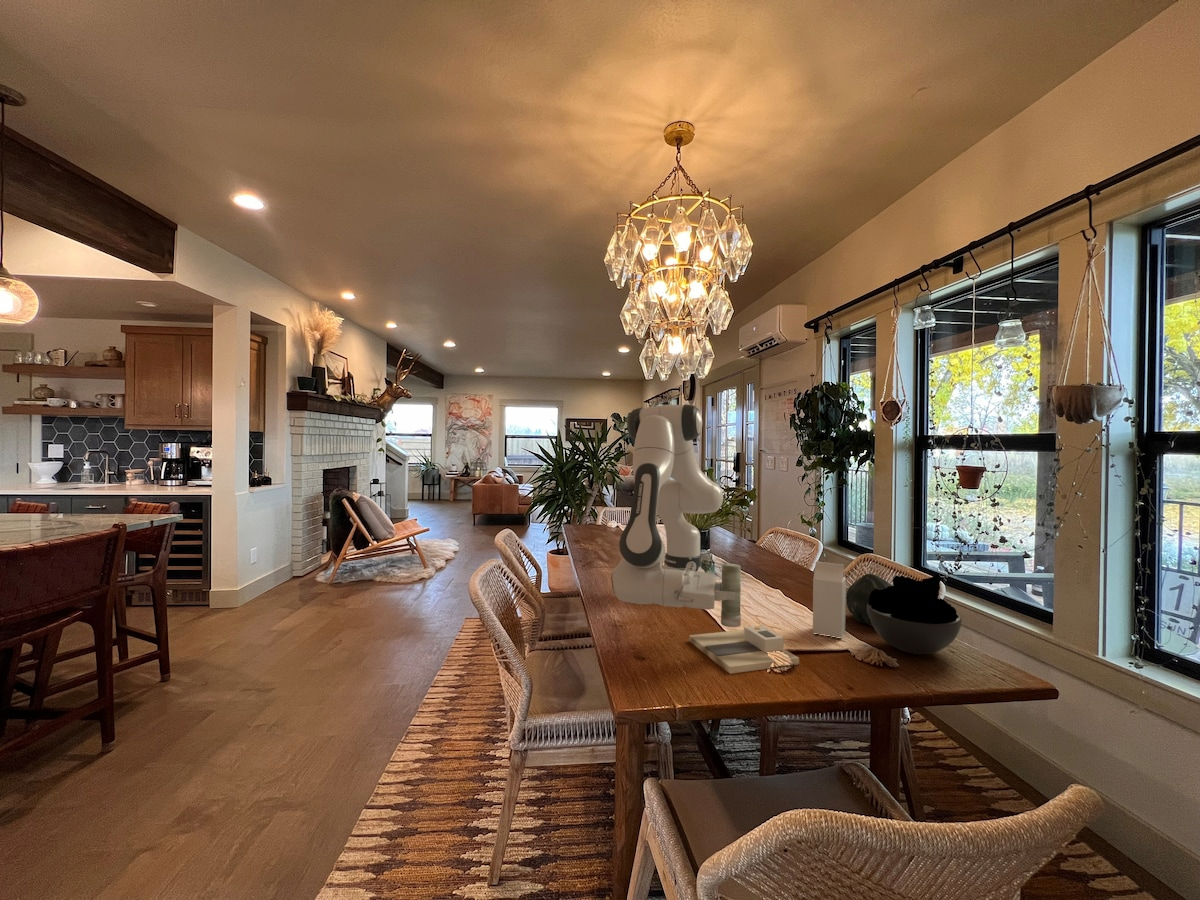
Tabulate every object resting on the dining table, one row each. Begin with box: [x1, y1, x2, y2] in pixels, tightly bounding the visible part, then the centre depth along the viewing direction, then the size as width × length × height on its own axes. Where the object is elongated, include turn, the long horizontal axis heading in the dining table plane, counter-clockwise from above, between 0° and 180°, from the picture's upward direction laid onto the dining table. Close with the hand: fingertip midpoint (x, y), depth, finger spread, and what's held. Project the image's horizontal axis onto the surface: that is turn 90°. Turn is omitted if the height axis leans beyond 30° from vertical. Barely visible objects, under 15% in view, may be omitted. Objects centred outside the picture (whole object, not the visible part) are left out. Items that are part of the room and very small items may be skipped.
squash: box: [845, 573, 893, 626], centre depth 151 cm, size 14×15×15 cm
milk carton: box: [812, 561, 847, 639], centre depth 141 cm, size 7×7×19 cm
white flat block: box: [688, 629, 800, 675], centre depth 128 cm, size 20×18×2 cm
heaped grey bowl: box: [867, 574, 963, 655], centre depth 129 cm, size 20×20×19 cm
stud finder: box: [743, 624, 784, 652], centre depth 129 cm, size 9×5×3 cm, turn 17°
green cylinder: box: [720, 563, 742, 628], centre depth 126 cm, size 5×5×14 cm
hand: (734, 592), depth 126 cm, fingers closed on green cylinder, 4 cm apart
